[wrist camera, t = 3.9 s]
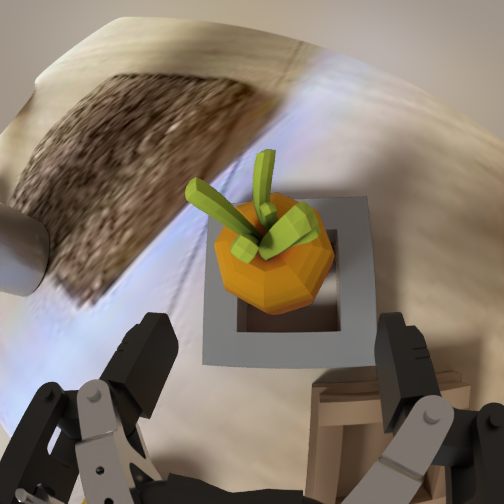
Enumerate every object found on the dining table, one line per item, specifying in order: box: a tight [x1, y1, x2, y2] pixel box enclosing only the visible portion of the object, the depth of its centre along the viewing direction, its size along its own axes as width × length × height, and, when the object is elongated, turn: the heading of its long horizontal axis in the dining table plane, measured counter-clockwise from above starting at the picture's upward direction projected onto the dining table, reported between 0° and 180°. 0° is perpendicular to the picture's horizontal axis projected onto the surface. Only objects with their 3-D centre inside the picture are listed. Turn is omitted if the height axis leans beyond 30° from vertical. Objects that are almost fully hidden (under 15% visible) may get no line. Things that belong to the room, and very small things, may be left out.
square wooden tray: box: [305, 371, 471, 504], centre depth 15 cm, size 11×11×4 cm
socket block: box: [202, 197, 377, 369], centre depth 20 cm, size 11×11×3 cm
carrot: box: [185, 149, 335, 315], centre depth 15 cm, size 5×5×15 cm
